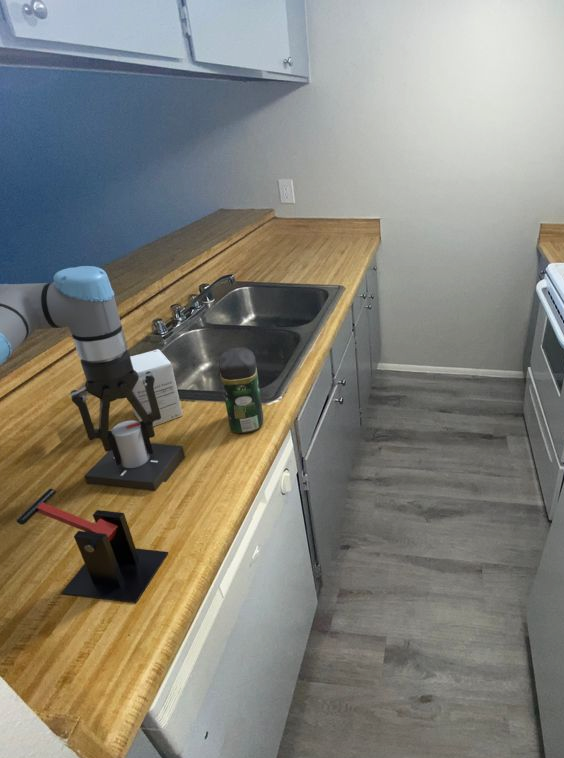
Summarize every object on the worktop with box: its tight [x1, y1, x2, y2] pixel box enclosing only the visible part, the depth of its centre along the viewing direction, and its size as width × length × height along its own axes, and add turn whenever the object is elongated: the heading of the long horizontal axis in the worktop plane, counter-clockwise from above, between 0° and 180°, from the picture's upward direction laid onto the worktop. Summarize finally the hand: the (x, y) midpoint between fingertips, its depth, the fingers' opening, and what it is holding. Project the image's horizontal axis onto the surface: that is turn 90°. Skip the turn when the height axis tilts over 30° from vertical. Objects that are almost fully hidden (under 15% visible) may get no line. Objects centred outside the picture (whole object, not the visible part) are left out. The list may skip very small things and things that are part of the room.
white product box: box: [130, 348, 184, 428], centre depth 110 cm, size 9×9×15 cm
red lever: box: [16, 488, 117, 541], centre depth 70 cm, size 12×6×2 cm, turn 85°
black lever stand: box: [60, 509, 169, 604], centre depth 73 cm, size 12×9×12 cm
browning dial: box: [111, 419, 149, 468], centre depth 93 cm, size 5×5×8 cm
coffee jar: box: [218, 347, 264, 434], centre depth 108 cm, size 10×8×19 cm
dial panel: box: [84, 442, 186, 492], centre depth 96 cm, size 14×11×3 cm
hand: (134, 455), depth 95 cm, fingers closed on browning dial, 5 cm apart
